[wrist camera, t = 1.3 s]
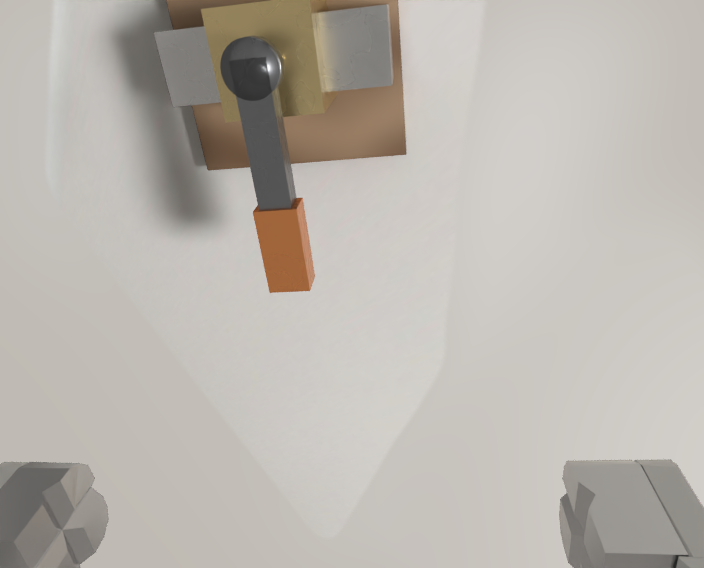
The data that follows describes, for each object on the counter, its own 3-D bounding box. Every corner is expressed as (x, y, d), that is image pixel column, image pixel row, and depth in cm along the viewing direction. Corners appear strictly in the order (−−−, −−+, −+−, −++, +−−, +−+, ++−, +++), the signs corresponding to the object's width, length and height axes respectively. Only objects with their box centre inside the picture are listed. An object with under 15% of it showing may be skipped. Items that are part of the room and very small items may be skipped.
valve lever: (224, 38, 25) (212, 41, 24) (280, 31, 25) (271, 34, 23) (273, 278, 32) (266, 292, 30) (318, 275, 31) (313, 290, 30)
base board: (158, -64, 31) (150, -67, 30) (392, -99, 29) (391, -102, 28) (213, 165, 37) (207, 170, 36) (406, 149, 36) (406, 154, 35)
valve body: (177, 14, 32) (121, 18, 25) (388, -12, 30) (383, -15, 24) (199, 108, 34) (153, 133, 28) (394, 89, 33) (391, 111, 26)
